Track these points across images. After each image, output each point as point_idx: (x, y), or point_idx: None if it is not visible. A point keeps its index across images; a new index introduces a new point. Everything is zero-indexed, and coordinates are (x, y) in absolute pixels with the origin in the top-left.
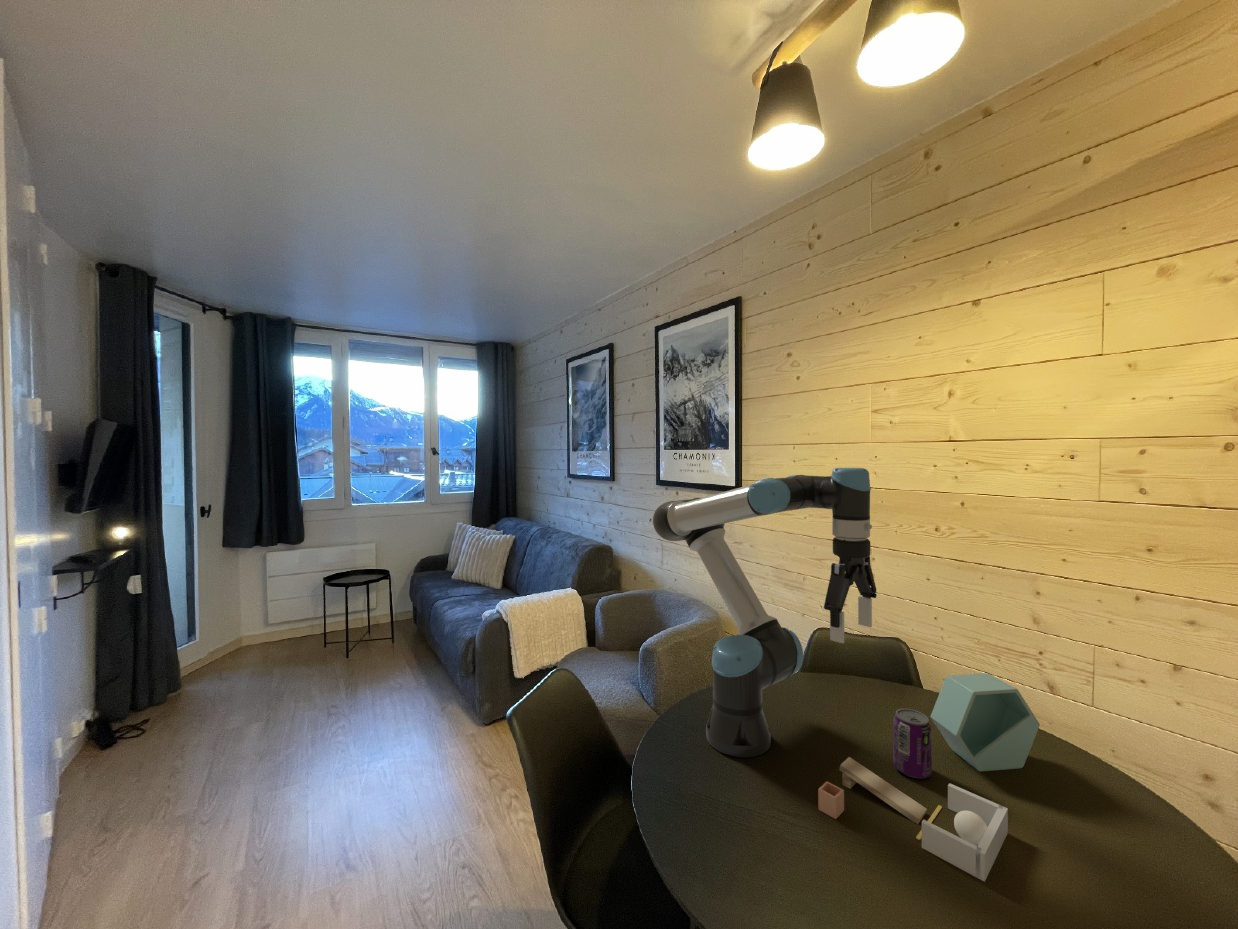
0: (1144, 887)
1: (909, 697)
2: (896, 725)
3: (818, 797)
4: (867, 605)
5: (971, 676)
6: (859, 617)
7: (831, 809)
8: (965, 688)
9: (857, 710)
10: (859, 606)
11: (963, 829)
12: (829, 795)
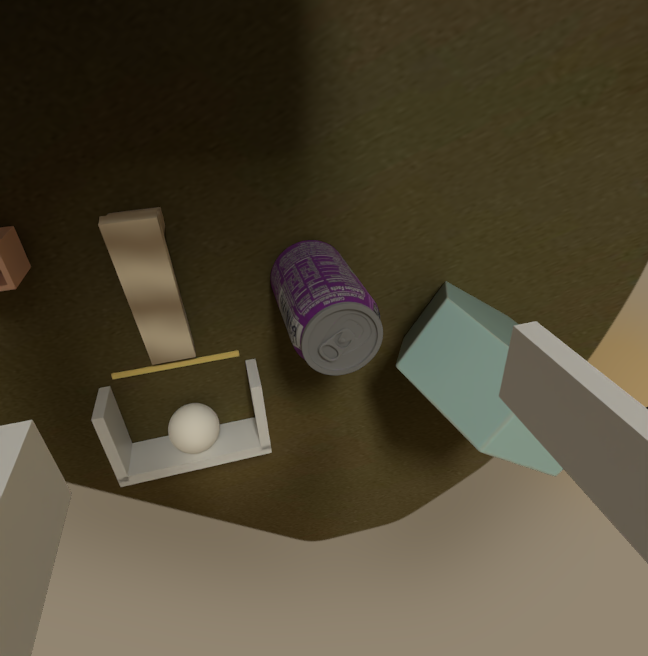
0: (298, 509)
1: (644, 103)
2: (296, 312)
3: None
4: (627, 511)
5: None
6: (549, 367)
7: None
8: (493, 431)
9: (488, 29)
10: (630, 434)
11: (169, 433)
12: None
